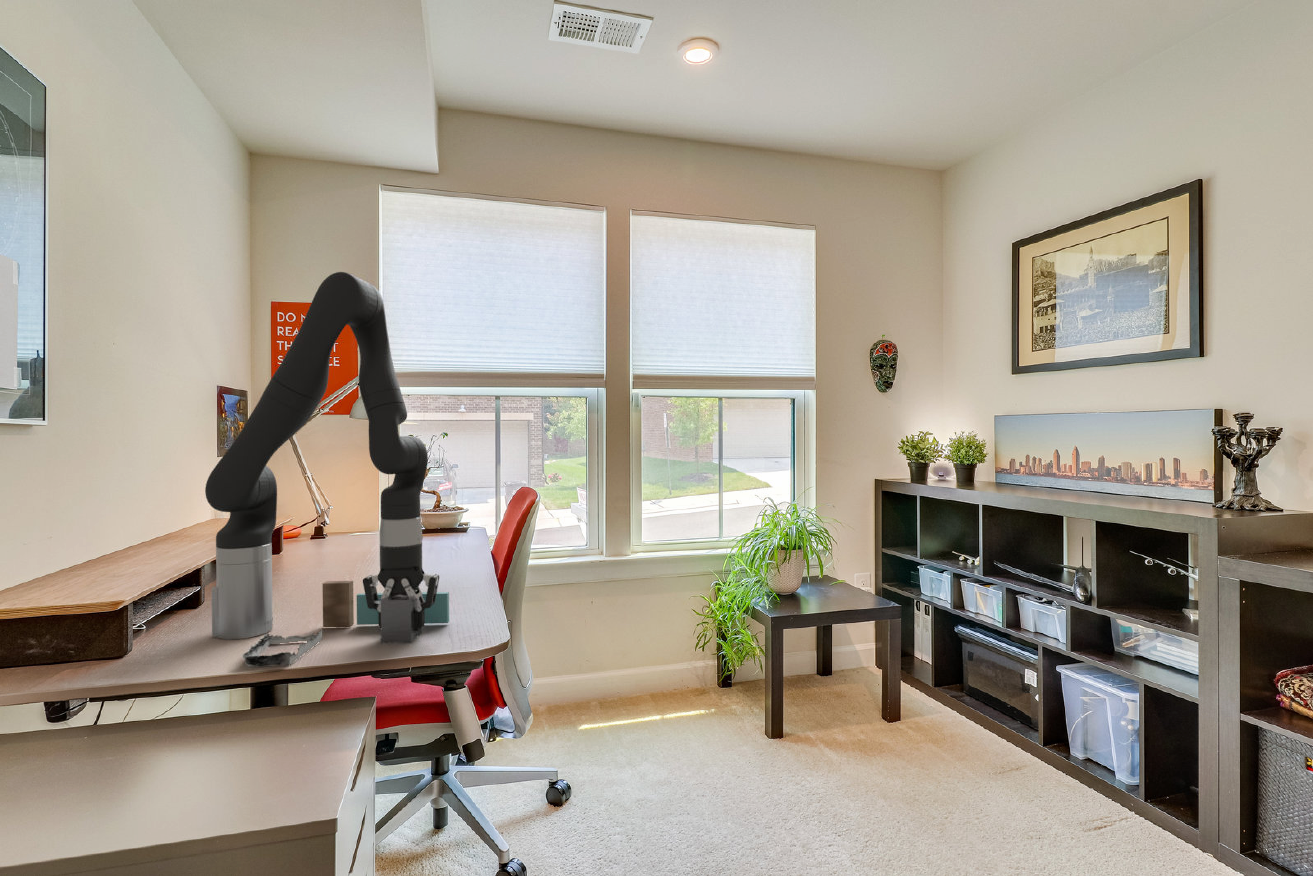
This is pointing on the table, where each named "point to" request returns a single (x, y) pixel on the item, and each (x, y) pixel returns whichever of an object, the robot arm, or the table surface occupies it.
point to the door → (432, 614)
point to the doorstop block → (398, 620)
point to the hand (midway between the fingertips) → (402, 629)
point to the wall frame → (338, 604)
